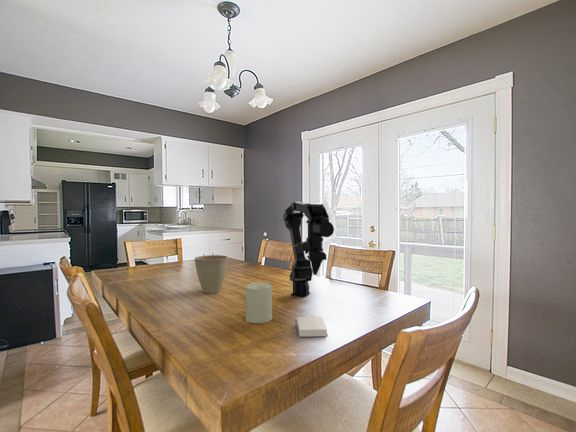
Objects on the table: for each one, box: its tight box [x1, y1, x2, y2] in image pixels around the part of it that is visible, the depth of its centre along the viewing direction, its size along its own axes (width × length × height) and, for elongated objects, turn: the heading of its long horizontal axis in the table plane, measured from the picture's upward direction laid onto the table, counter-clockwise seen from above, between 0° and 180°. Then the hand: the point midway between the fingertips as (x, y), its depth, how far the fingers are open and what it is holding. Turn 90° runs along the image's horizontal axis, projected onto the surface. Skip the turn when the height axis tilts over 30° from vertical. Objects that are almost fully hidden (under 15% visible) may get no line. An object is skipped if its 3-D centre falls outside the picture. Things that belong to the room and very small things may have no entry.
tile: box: [296, 316, 328, 338], centre depth 89 cm, size 2×8×10 cm
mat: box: [294, 319, 329, 338], centre depth 91 cm, size 13×9×1 cm
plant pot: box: [194, 254, 229, 295], centre depth 134 cm, size 15×15×16 cm
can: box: [245, 282, 273, 324], centre depth 100 cm, size 9×9×12 cm
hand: (314, 274), depth 115 cm, fingers closed
